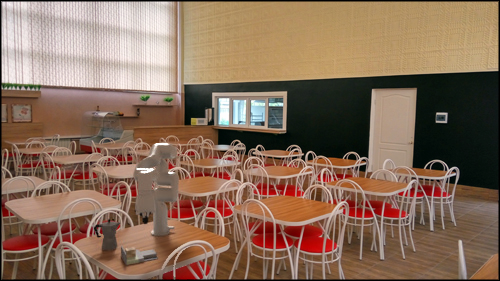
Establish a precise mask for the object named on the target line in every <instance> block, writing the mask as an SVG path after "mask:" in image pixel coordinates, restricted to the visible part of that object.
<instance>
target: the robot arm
mask: <svg viewBox="0 0 500 281" xmlns="http://www.w3.org/2000/svg"><path fill="white" fill-rule="evenodd" d="M177 155H178V150H177V148H176V146H175V145H174V144H171V143H154V144H152V146H150V149H149V152H148V155H147V156H146V157H145V158H142V160H140V161H139V162H137V164H136V165H135V168H134V170H133V179H134V180H135V181H136V182H137V190H138V192H137V193H138V194H136V198H135V215H136V216H141V217H142V219H141V220H142V223H143V224H144V225H148V222H149V217H150V216H151V215H152V214H153V215H152V219H153V221H152V222H153V224H152V228H153V229H152V230H151V231H150V234H151V235H152V236H153V237H154V236H155V237H165V236H167V235H169V234H170V233H171V231H170V230H175V226H172V225H170V226H169V225H168V222H169V220H168V219H169V218H168V214H169V213H168V205H167V204H166V203H176V202H177V200H178V198H179V183H180V182H179V181H180V180H179V177H180V176H179V174H178V173H177V172H175V171H169V163H168V162H167V161H166V159H167V160H171V159H176V157H178V156H177ZM154 167H155V168H154ZM153 182H154V183H155V184H156V186H162V187H156V188H154V189H153V187H152V186H153Z"/></svg>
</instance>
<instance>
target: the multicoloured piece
mask: <svg viewBox="0 0 500 281" xmlns="http://www.w3.org/2000/svg"><path fill="white" fill-rule="evenodd" d="M120 257H121V259H122V260H123V263H124V265H125V266H128V265H132V264H137V263H138V264H139V263H143V262H149V261H156V260H159V258H158V255H157V252H156V250H155V249H148V250H142V251H140V250H139V249H136V256H134V257H129V258H127V254H126V252H125V248H124V247H123V245H120Z"/></svg>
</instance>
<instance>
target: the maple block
mask: <svg viewBox="0 0 500 281" xmlns="http://www.w3.org/2000/svg"><path fill="white" fill-rule="evenodd" d="M136 250H137V249H136V248H135V246H132V247H127V248H124V251H125V252H126V254H127V258H129V257H134V256H136Z"/></svg>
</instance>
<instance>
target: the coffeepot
mask: <svg viewBox="0 0 500 281" xmlns="http://www.w3.org/2000/svg"><path fill="white" fill-rule="evenodd" d="M120 225H121V222H117V221H111V218H108V219H107V221H106V222H102V223H99V224H95V226H93V230H94V233H95V235H96V237H97V238H101V237H102V236H103V238H102V243H101V249H102V250H104V251H114V250H115V249H117V248H118V242H117V237H116V234H117V229H118V228H119V226H120ZM98 228H101V232H102V235H100V234H99V232H98Z"/></svg>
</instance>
